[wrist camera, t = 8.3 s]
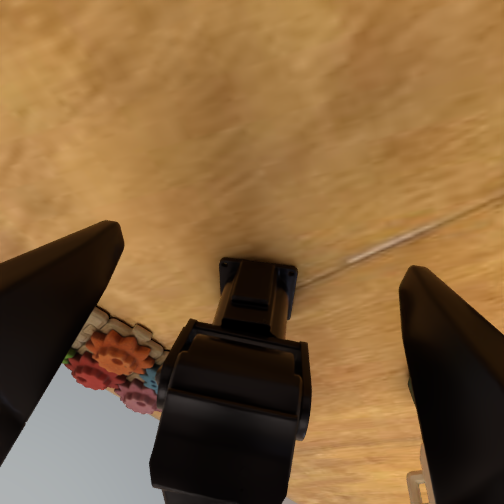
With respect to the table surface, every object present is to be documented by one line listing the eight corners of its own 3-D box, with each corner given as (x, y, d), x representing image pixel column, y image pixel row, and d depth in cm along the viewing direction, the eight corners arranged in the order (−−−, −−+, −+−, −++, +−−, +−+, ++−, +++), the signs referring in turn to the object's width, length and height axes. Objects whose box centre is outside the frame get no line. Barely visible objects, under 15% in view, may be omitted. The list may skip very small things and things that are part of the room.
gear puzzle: (-62, 290, 37) (-97, 317, 34) (-41, 213, 28) (-86, 240, 25) (157, 404, 47) (146, 433, 44) (222, 374, 39) (214, 408, 35)
